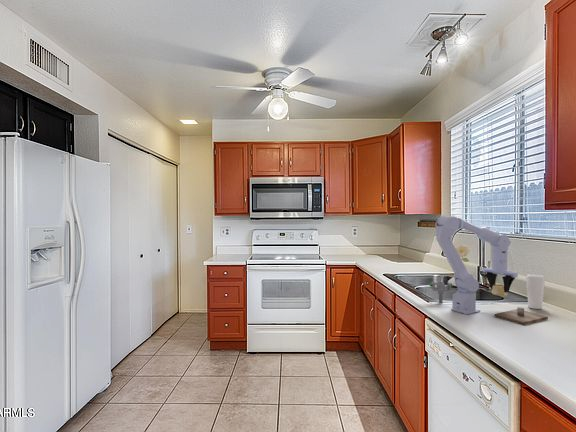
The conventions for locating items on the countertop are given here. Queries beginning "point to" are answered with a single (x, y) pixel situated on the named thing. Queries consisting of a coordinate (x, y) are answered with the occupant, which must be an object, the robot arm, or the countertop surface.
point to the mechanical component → (440, 289)
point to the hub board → (521, 316)
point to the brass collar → (498, 290)
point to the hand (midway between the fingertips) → (499, 290)
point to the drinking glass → (535, 290)
